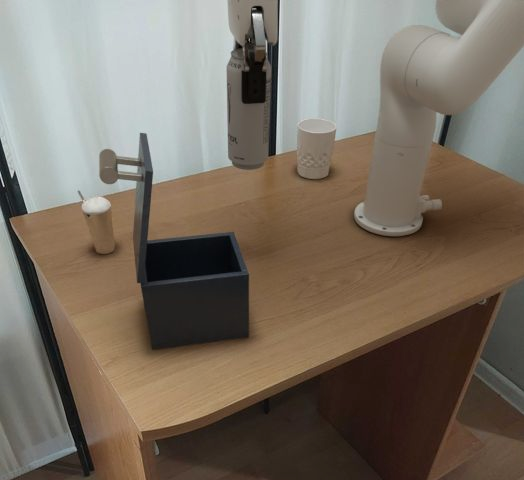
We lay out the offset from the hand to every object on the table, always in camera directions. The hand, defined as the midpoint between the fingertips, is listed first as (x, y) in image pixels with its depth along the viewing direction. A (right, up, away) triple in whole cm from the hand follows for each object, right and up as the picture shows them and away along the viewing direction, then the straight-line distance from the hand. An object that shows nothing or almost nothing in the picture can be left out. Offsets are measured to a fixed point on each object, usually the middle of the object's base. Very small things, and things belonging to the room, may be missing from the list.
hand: (248, 93), depth 74 cm
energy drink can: (0, -7, +7) cm, 10 cm away
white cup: (+13, +2, +41) cm, 43 cm away
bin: (-8, -31, +4) cm, 32 cm away
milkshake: (-25, -18, +17) cm, 36 cm away
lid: (-12, -19, -9) cm, 24 cm away
